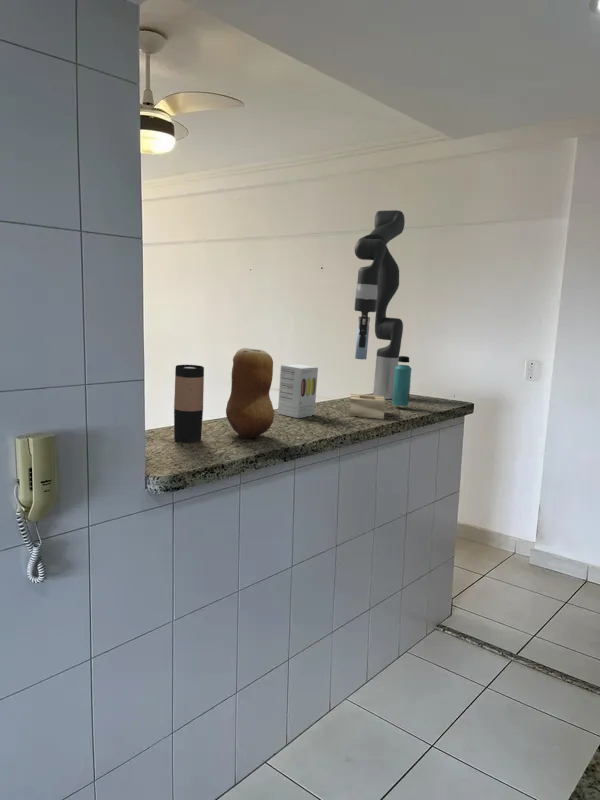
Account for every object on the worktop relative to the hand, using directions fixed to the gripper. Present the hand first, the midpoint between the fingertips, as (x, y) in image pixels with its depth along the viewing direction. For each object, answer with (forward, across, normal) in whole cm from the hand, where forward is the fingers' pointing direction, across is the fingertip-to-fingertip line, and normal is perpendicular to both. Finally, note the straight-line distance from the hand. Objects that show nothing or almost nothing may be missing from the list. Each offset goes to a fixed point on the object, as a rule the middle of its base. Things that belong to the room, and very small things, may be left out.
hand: (362, 346), depth 210 cm
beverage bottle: (+24, -16, +16) cm, 33 cm away
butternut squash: (+25, +50, -29) cm, 63 cm away
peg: (+4, 0, 0) cm, 4 cm away
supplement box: (+24, +14, -20) cm, 34 cm away
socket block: (+24, +2, +4) cm, 24 cm away
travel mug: (+25, +59, -44) cm, 78 cm away
